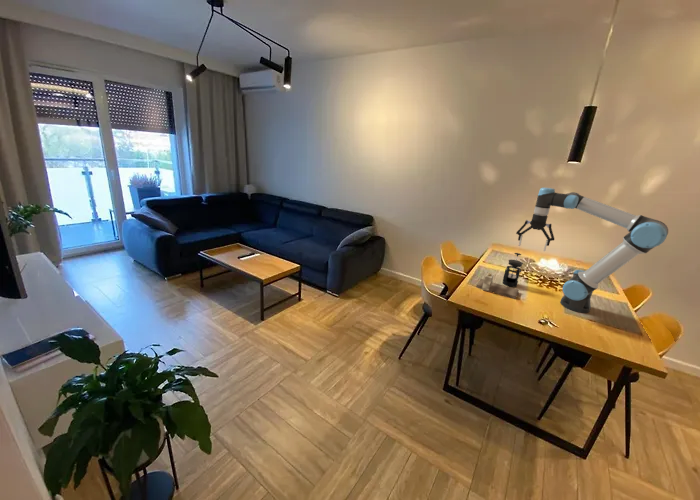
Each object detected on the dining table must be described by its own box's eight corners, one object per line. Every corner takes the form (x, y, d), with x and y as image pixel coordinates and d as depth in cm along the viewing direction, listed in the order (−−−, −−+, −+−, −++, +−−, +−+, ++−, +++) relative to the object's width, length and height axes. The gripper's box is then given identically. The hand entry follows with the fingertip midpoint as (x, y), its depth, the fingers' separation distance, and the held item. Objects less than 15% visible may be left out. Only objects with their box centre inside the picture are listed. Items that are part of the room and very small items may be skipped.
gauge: (490, 287, 204) (494, 273, 200) (488, 291, 198) (491, 276, 194) (484, 285, 206) (487, 271, 203) (481, 289, 200) (485, 274, 196)
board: (518, 292, 200) (518, 289, 200) (515, 299, 191) (516, 296, 190) (480, 281, 213) (480, 278, 212) (475, 287, 204) (476, 284, 203)
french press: (510, 280, 218) (518, 250, 210) (521, 286, 210) (529, 255, 202) (497, 281, 214) (505, 251, 206) (507, 288, 206) (516, 256, 198)
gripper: (565, 216, 177) (555, 251, 184) (518, 210, 190) (510, 242, 197) (565, 218, 171) (555, 254, 178) (516, 211, 184) (508, 245, 191)
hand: (531, 248), depth 187 cm, fingers open, 13 cm apart
